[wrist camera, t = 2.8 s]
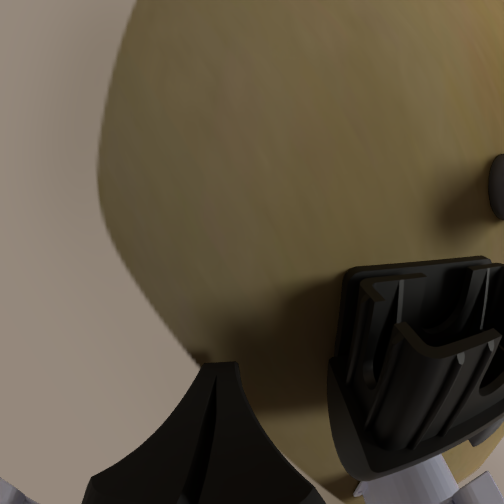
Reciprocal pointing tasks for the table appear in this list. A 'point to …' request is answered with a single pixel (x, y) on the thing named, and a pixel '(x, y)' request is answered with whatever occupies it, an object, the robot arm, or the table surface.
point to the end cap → (415, 361)
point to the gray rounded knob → (497, 186)
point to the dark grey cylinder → (485, 433)
